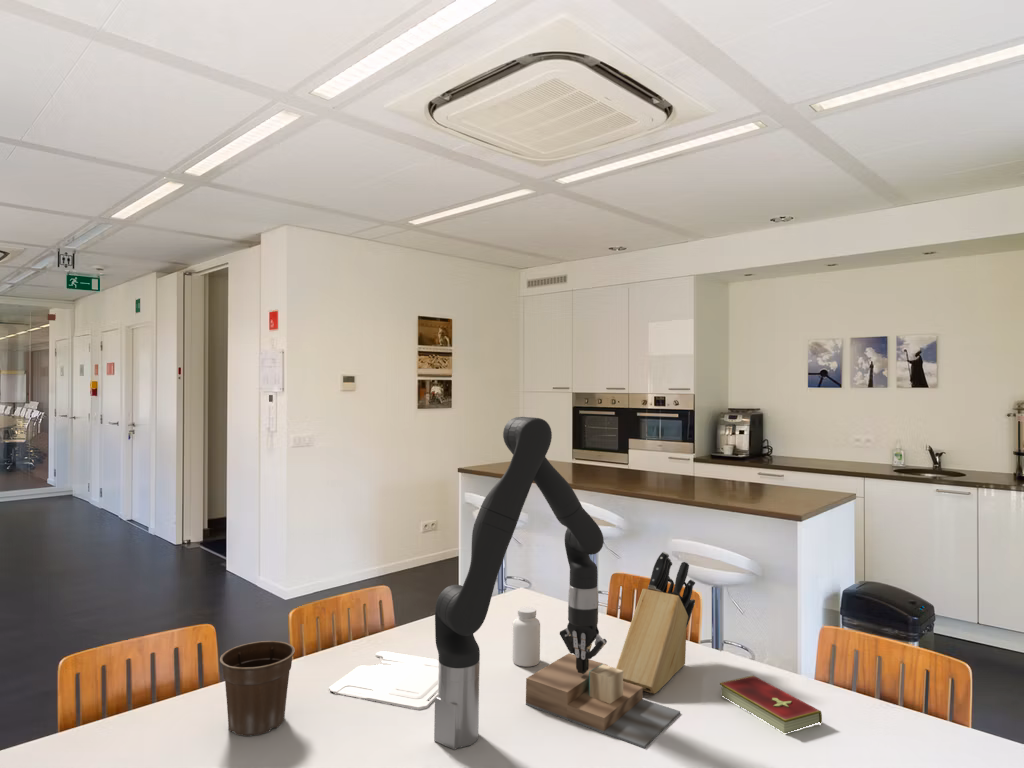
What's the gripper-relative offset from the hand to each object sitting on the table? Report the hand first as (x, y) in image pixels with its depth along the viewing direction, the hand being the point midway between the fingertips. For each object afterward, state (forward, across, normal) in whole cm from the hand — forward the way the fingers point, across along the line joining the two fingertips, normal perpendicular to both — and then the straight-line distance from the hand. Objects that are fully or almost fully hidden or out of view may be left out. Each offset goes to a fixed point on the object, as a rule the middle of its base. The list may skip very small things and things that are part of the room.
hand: (582, 672), depth 164 cm
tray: (+8, -46, -19) cm, 50 cm away
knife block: (+8, +7, +29) cm, 31 cm away
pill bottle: (+8, -25, +11) cm, 28 cm away
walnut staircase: (+7, +6, 0) cm, 9 cm away
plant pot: (+8, -54, -56) cm, 78 cm away
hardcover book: (+8, +39, +25) cm, 47 cm away
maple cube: (+1, +4, 0) cm, 4 cm away
